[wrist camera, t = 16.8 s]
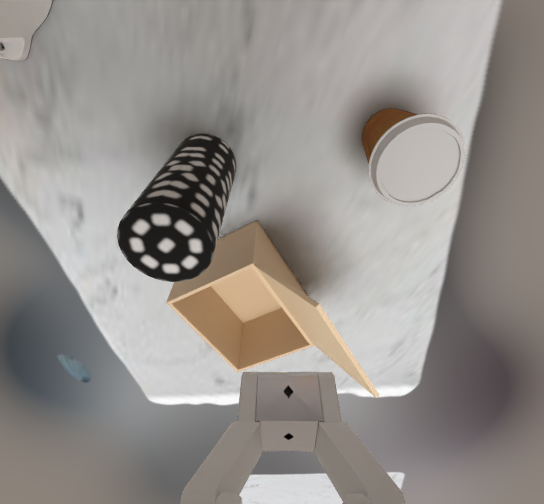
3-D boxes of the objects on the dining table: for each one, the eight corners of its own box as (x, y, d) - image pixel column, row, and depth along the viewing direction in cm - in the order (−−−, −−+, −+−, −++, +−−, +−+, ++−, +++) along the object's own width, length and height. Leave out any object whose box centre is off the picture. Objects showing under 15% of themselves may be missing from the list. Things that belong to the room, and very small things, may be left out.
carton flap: (376, 398, 39) (379, 394, 39) (315, 307, 30) (319, 303, 30) (312, 343, 49) (315, 341, 50) (255, 266, 41) (258, 263, 41)
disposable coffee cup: (440, 120, 41) (491, 150, 31) (388, 181, 46) (419, 224, 36) (383, 77, 39) (419, 95, 29) (334, 147, 43) (352, 183, 34)
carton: (242, 322, 63) (237, 372, 54) (184, 256, 54) (166, 302, 45) (308, 296, 59) (314, 345, 50) (257, 220, 50) (253, 263, 41)
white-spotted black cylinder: (201, 119, 42) (153, 182, 25) (248, 165, 45) (233, 246, 29) (163, 163, 45) (99, 244, 28) (210, 203, 48) (176, 295, 32)
